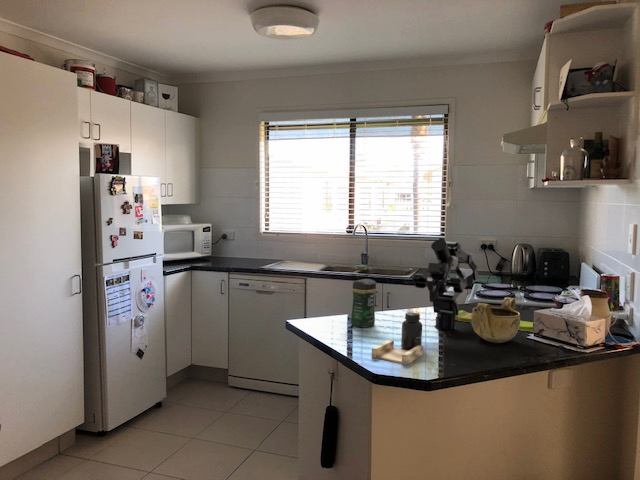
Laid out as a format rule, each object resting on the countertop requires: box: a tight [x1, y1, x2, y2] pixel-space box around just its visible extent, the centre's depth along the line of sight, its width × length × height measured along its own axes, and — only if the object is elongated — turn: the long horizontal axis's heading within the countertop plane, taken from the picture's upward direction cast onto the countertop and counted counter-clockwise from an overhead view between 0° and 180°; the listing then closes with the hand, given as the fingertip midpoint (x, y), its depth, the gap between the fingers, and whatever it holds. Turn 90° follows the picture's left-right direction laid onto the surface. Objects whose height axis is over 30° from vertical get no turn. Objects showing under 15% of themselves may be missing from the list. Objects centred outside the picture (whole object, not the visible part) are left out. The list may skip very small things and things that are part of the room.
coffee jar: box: [350, 278, 377, 328], centre depth 207 cm, size 10×8×19 cm
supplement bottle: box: [400, 311, 423, 351], centre depth 177 cm, size 7×7×12 cm
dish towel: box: [455, 309, 534, 332], centre depth 216 cm, size 15×36×3 cm, turn 54°
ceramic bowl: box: [471, 296, 521, 344], centre depth 189 cm, size 22×17×15 cm
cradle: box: [371, 339, 424, 366], centre depth 169 cm, size 13×12×3 cm
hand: (430, 301), depth 191 cm, fingers closed
